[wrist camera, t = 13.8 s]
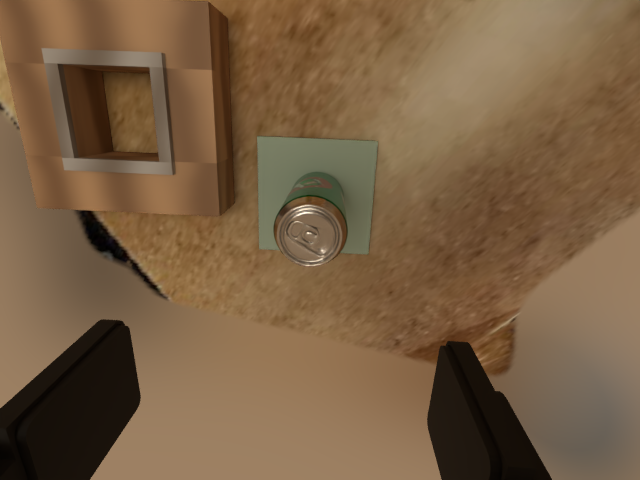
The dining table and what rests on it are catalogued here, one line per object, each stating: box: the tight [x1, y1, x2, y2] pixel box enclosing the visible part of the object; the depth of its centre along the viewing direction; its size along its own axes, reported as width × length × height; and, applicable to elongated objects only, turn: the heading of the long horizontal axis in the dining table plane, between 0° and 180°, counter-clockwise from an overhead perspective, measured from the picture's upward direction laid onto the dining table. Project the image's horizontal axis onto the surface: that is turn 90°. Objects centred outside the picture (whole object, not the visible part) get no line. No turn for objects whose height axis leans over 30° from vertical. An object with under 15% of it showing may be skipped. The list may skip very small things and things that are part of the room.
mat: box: [257, 136, 378, 254], centre depth 36 cm, size 11×11×1 cm
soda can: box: [273, 172, 348, 267], centre depth 30 cm, size 5×5×12 cm
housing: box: [0, 0, 235, 216], centre depth 31 cm, size 16×16×6 cm
